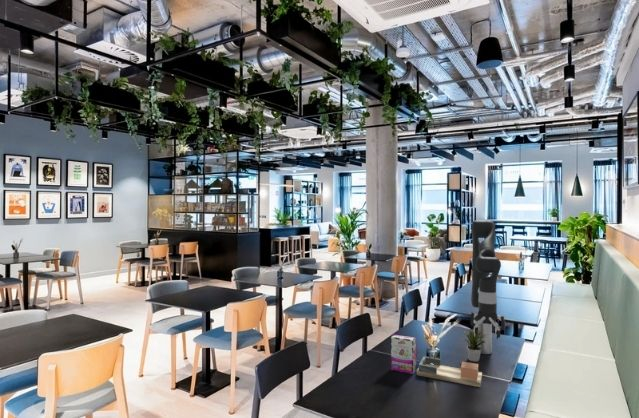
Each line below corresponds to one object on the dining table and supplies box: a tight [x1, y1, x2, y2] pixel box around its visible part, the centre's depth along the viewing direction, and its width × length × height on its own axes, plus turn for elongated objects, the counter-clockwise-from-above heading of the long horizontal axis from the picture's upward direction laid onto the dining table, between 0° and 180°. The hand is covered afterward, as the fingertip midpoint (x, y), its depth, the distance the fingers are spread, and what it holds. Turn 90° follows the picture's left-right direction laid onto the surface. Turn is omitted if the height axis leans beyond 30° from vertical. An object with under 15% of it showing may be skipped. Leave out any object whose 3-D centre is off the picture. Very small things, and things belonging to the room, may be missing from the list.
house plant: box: [462, 327, 488, 363], centre depth 205 cm, size 14×14×16 cm
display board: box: [416, 356, 483, 388], centre depth 187 cm, size 12×28×5 cm, turn 64°
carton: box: [460, 361, 479, 380], centre depth 183 cm, size 7×7×4 cm
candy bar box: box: [390, 334, 417, 375], centre depth 192 cm, size 11×5×16 cm, turn 62°
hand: (487, 336), depth 179 cm, fingers open, 8 cm apart
